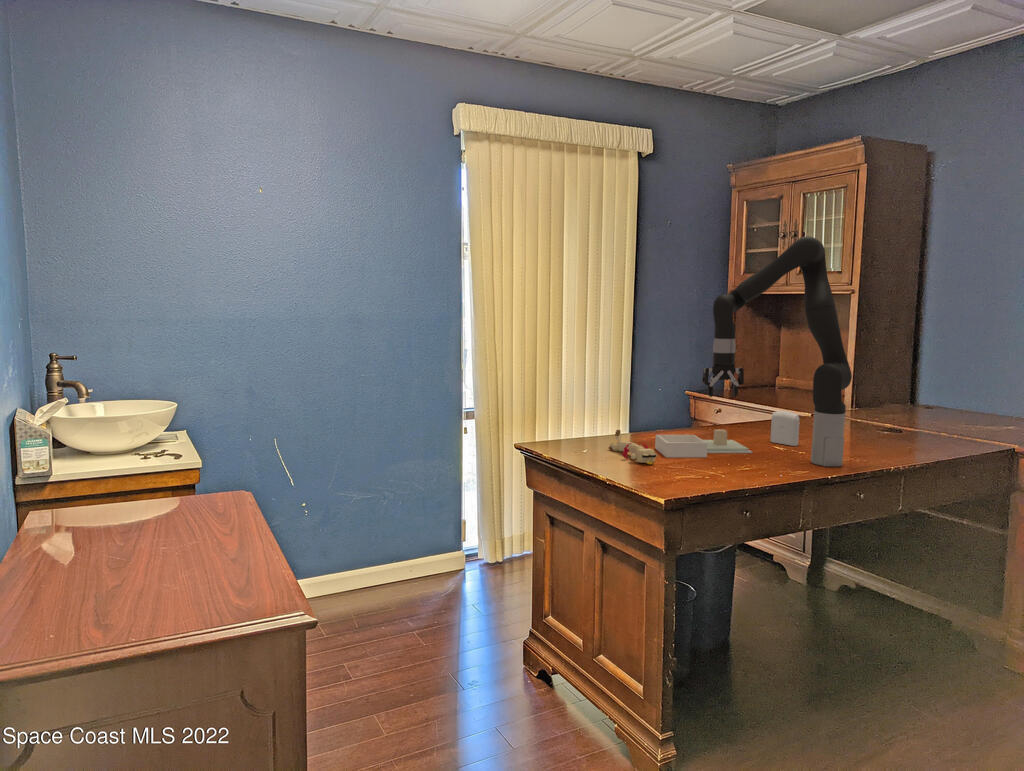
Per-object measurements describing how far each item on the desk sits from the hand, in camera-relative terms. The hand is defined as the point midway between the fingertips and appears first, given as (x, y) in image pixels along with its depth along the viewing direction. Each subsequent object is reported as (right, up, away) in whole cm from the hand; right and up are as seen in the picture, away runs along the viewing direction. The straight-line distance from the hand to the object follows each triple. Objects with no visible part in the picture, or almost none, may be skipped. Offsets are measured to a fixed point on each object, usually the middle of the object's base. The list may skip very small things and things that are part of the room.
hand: (722, 396), depth 252 cm
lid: (0, -18, +2) cm, 18 cm away
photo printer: (+26, -18, +11) cm, 34 cm away
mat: (0, -19, +3) cm, 19 cm away
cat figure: (-34, -21, -14) cm, 43 cm away
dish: (-17, -19, -7) cm, 26 cm away
